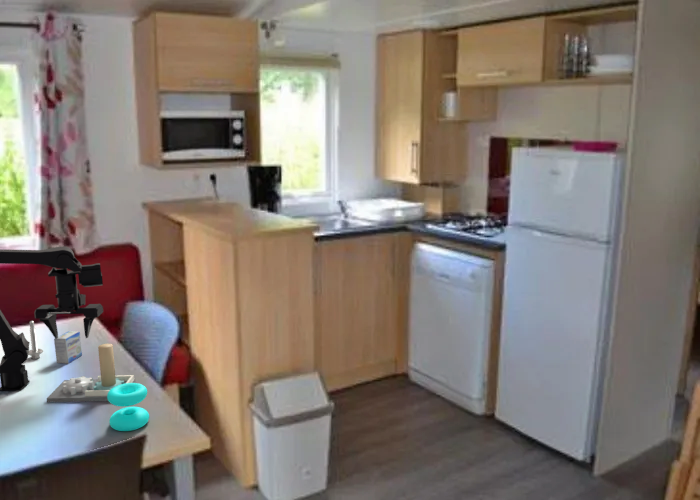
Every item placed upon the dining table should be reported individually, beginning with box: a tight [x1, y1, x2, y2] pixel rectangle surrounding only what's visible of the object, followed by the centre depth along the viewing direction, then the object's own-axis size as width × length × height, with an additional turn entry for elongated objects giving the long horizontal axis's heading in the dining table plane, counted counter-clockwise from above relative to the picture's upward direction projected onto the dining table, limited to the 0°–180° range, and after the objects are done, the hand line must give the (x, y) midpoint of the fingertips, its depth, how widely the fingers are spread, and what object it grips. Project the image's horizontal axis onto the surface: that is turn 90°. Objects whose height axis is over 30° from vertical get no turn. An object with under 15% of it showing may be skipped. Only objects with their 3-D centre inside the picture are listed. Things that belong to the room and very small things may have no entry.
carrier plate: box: [46, 374, 136, 403], centre depth 193 cm, size 21×13×4 cm, turn 92°
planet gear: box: [93, 343, 124, 390], centre depth 192 cm, size 8×8×13 cm
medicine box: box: [53, 330, 83, 365], centre depth 219 cm, size 8×4×9 cm, turn 168°
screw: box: [28, 320, 44, 360], centre depth 220 cm, size 13×5×5 cm
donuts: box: [107, 382, 150, 432], centre depth 173 cm, size 10×10×10 cm
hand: (71, 337), depth 202 cm, fingers open, 9 cm apart
